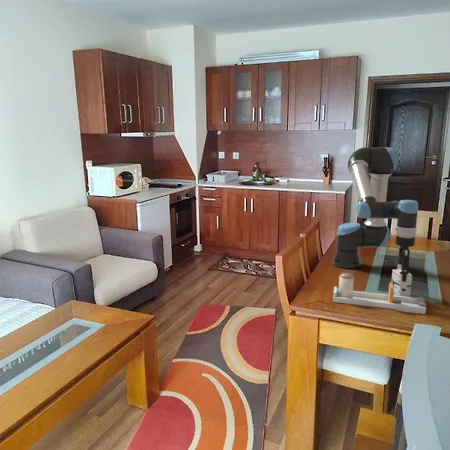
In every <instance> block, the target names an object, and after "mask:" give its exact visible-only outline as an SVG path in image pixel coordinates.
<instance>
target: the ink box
mask: <svg viewBox="0 0 450 450" xmlns="http://www.w3.org/2000/svg"><path fill="white" fill-rule="evenodd" d="M400 272H401V269H397V268H396V269H392V272H391V273H392V274H391V281H390V282H391V283H393V287H394V291H393V295H395V296H404V297H411V290H412V281H413V275H412V274H411V273H410V272H409V274H408V279H407V289H403V288H400V276H401V274H400Z"/></svg>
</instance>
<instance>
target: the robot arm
mask: <svg viewBox="0 0 450 450" xmlns="http://www.w3.org/2000/svg"><path fill="white" fill-rule="evenodd" d="M397 167H398V155H397V151H396V150H395V149H394V148H393V147H385V146H379V147H376V146H374V147H366V146H365V147H360V148H358V149H356V150H355V151H354V152H352V154H351V155H350V156H349V158H348V160H347V169H348V172H349V173H350V175H352V180H353V184H354V186H355V191H356V193H357V197H358V202H357V204H356V208H355V211H356V212H355V213H356V216H357V217H358V218H361V219H366V220H365V221H364V222H363V225H361V224H360V223H358V222H346V223H345V222H344V223H342V224H340V225H339V226H337V231H336V232H337V233H336V234H337V236H336V251H335V254H334V256H333V258H332V265H333V264H334V265H335V266H334V265H333V266H334V267H336V266H338V267H337V268H340V267H342V268H341V269H345V268H355V269H359V268H361V267H362V266H361V265H362V260H361V257H360V253H359V248H384V247H386V246H387V244H388V242H389V240H390V235H391V233H390V231H391V230H390V228H389V226H387V223H386V222H385V219H389V220H390V219H395V220H396V219H397V223H396V228H394V230H395V231H396V236H395V244H396V245H397V246H399V247H398V255H397V268H396V269H401V272H400V274H401V276H400V288H403V289H407V279H408V274H409V273H410V272H409V271H410V253H411V251H410V247H414V246H415V245H416V244H415V243H416V234H417V221H418V212H419V203H418V201H417V200H414V199H401V200H393V201H387V195H388V185H389V177H390V176H392V174H393V171H396V170H397ZM358 267H359V268H358Z"/></svg>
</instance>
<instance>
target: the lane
mask: <svg viewBox="0 0 450 450" xmlns="http://www.w3.org/2000/svg"><path fill="white" fill-rule="evenodd" d="M338 292H339V288H338V286H334V287H333V293H332V294H333V295H332V302H333V303H337V304H338V303H339V304H348V305H357V306H363V307H365V306H366V307H374V308H382V309H390V310H395V311H396V312H403V313H411V314H413V313H414V314H420V313H421V314H422V315H426V311H427V307H426V306H427V304H426V302H425V299H424V297H423V296H417V297H412V296H410V297H404V296H395V295H393V300H401V304H395V303H388V294H386V293H385V294H384V293H376V292H375V293H374V292H367V291H366V292H365V291H355V290H353V299H352V298H343V297H338ZM421 314H420V315H421Z"/></svg>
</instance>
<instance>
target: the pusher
mask: <svg viewBox="0 0 450 450" xmlns="http://www.w3.org/2000/svg"><path fill="white" fill-rule="evenodd" d="M391 282H392V281H390V282H389V285H388V294H387V295H388V303H395V304H401V300H393V291H394V287H393V283H391Z"/></svg>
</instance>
